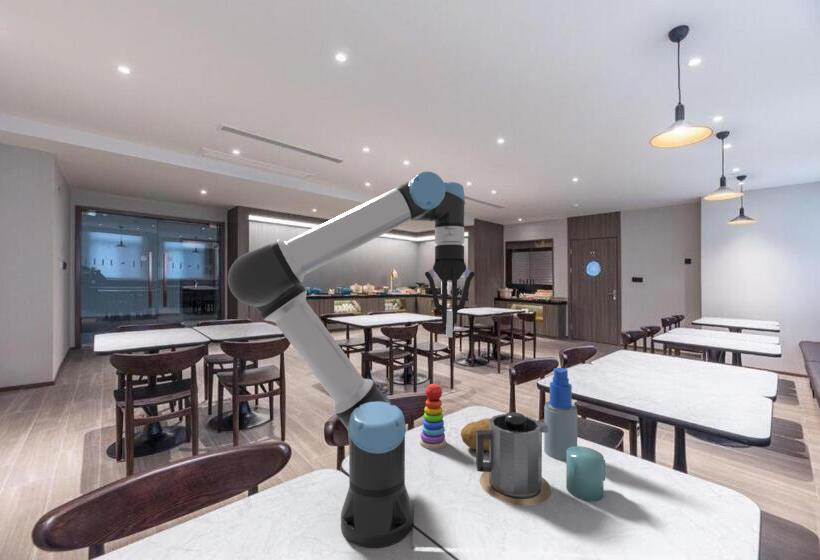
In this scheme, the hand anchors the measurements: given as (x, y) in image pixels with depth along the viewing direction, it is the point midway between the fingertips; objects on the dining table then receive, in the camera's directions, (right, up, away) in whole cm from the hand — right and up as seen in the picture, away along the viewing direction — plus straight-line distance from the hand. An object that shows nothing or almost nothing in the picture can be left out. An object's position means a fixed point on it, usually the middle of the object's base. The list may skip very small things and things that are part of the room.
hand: (449, 336), depth 94 cm
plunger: (+16, -31, -4) cm, 35 cm away
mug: (+32, -37, -7) cm, 49 cm away
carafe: (+16, -36, -4) cm, 39 cm away
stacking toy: (-3, -37, +18) cm, 41 cm away
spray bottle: (+34, -37, +12) cm, 51 cm away
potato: (+13, -37, +15) cm, 42 cm away
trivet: (+16, -36, -4) cm, 40 cm away
